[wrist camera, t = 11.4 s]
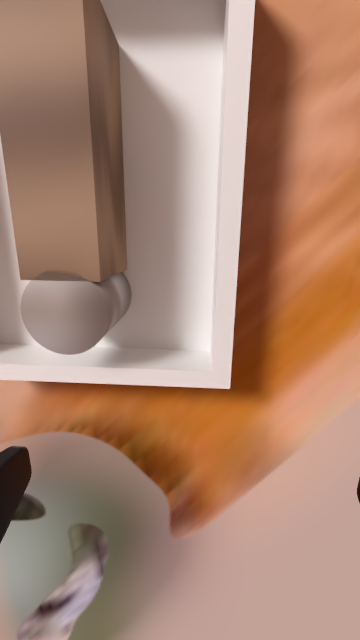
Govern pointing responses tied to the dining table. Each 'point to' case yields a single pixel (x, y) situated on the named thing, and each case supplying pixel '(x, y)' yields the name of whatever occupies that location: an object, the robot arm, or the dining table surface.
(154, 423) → the dining table surface
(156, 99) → the bin
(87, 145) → the strut
